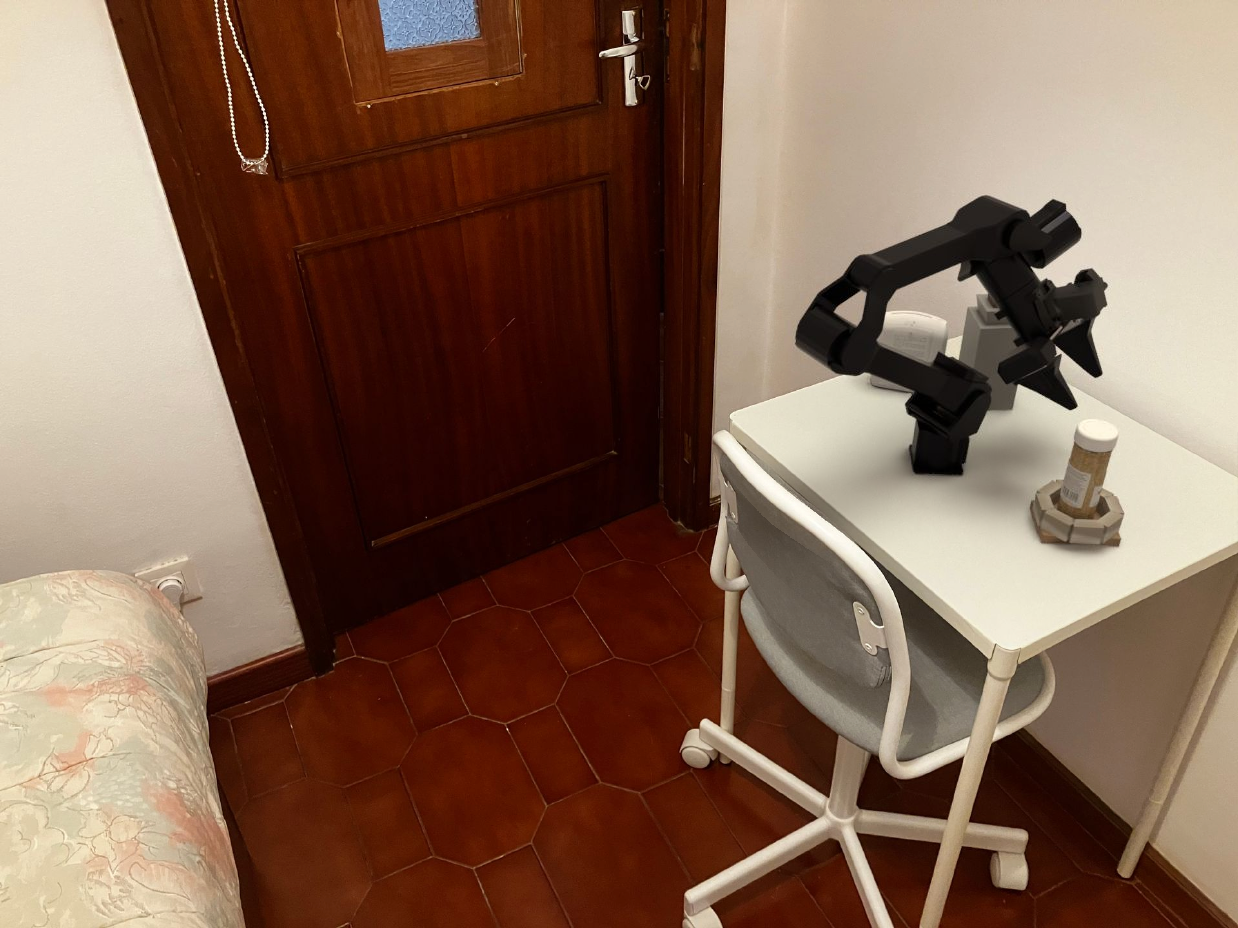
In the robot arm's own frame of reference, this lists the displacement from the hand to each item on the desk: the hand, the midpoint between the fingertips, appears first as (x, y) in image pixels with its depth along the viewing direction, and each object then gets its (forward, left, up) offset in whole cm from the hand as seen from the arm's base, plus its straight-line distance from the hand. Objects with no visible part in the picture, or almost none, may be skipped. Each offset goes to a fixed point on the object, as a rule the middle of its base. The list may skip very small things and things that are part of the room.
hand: (1087, 392), depth 126 cm
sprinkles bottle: (-1, -10, -13) cm, 16 cm away
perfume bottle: (-7, +20, -14) cm, 25 cm away
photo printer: (-18, +23, -14) cm, 32 cm away
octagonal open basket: (-1, -10, -14) cm, 17 cm away
